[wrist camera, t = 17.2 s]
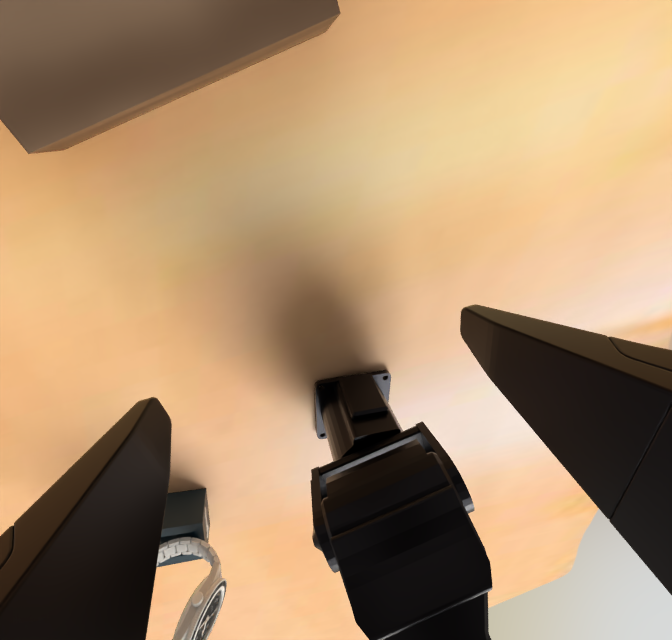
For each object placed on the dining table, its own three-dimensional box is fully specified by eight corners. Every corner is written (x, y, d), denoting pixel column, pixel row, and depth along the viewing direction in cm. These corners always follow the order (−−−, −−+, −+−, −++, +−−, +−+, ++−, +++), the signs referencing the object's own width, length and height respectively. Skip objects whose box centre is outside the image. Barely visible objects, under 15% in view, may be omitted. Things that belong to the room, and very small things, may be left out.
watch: (230, 519, 33) (225, 671, 24) (141, 534, 31) (96, 707, 22) (228, 484, 30) (221, 639, 21) (130, 497, 28) (75, 676, 19)
